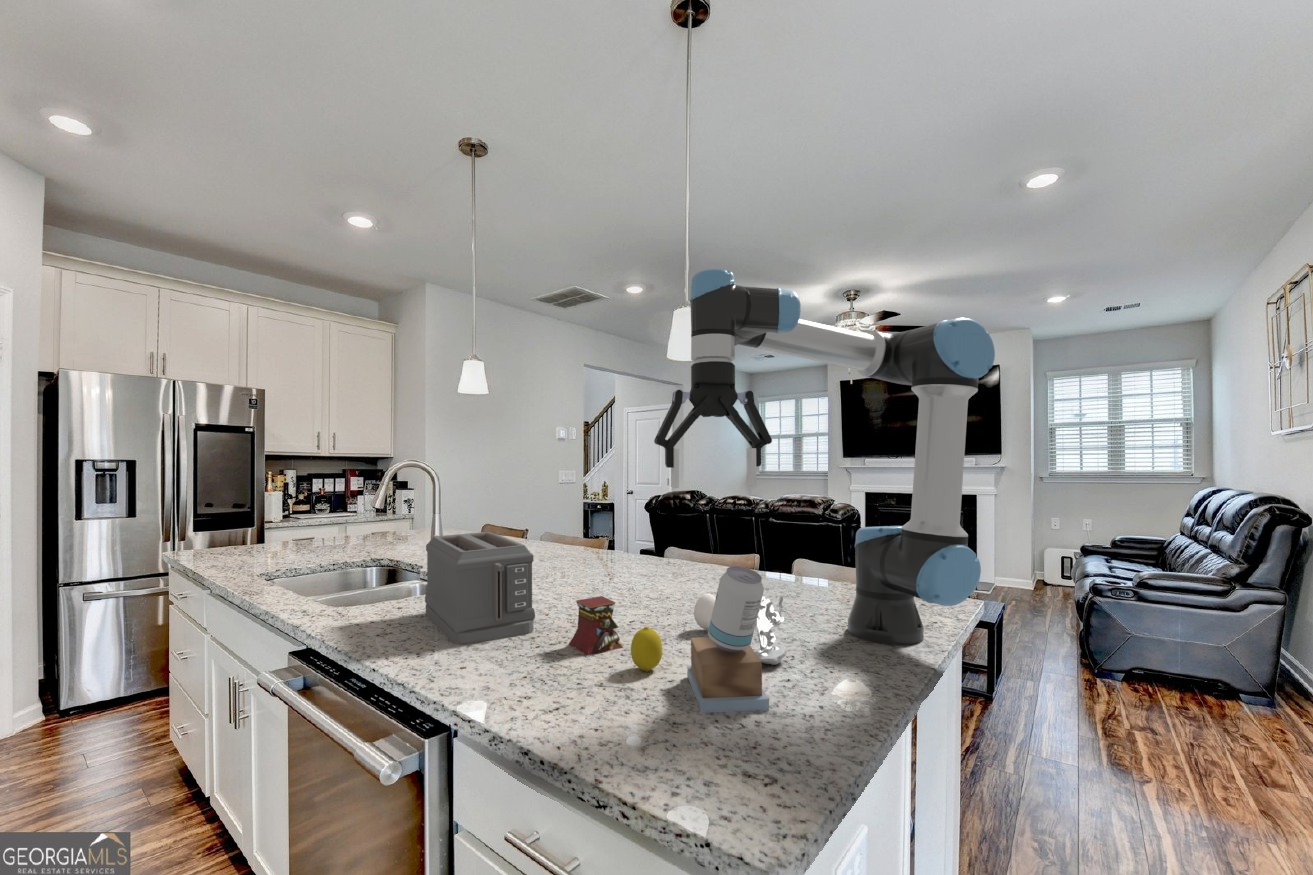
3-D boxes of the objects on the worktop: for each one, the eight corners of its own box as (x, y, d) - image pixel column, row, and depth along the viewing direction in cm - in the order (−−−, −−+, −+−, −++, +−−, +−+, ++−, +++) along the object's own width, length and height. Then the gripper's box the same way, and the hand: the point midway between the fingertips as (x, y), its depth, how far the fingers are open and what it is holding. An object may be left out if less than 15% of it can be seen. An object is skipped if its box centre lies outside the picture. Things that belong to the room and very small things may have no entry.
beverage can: (719, 626, 98) (734, 560, 96) (756, 645, 94) (773, 577, 92) (698, 641, 92) (714, 571, 90) (737, 661, 89) (754, 589, 86)
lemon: (647, 664, 107) (646, 620, 107) (668, 672, 103) (668, 626, 103) (624, 672, 103) (624, 626, 103) (646, 681, 99) (645, 634, 99)
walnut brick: (743, 665, 100) (743, 635, 100) (762, 695, 88) (761, 662, 88) (691, 667, 99) (690, 637, 99) (702, 698, 87) (702, 664, 87)
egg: (688, 630, 126) (688, 594, 126) (702, 623, 131) (702, 589, 131) (713, 635, 122) (713, 599, 122) (727, 627, 127) (726, 592, 127)
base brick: (745, 681, 100) (745, 663, 101) (768, 719, 87) (768, 699, 87) (687, 683, 99) (687, 666, 100) (702, 723, 86) (702, 702, 86)
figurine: (772, 674, 101) (771, 605, 102) (739, 667, 105) (738, 600, 105) (792, 658, 109) (791, 593, 109) (761, 651, 113) (760, 589, 113)
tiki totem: (588, 658, 110) (587, 609, 110) (567, 646, 117) (567, 600, 117) (626, 649, 115) (626, 602, 115) (604, 637, 122) (604, 593, 122)
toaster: (458, 652, 114) (458, 556, 114) (422, 614, 140) (422, 535, 140) (541, 635, 123) (540, 547, 123) (493, 602, 149) (493, 529, 149)
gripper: (773, 366, 106) (774, 483, 106) (637, 364, 102) (638, 486, 102) (790, 361, 99) (791, 486, 99) (644, 358, 95) (645, 489, 94)
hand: (713, 486), depth 100 cm, fingers open, 13 cm apart
